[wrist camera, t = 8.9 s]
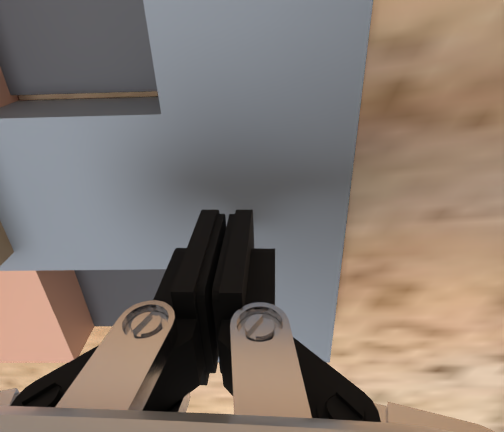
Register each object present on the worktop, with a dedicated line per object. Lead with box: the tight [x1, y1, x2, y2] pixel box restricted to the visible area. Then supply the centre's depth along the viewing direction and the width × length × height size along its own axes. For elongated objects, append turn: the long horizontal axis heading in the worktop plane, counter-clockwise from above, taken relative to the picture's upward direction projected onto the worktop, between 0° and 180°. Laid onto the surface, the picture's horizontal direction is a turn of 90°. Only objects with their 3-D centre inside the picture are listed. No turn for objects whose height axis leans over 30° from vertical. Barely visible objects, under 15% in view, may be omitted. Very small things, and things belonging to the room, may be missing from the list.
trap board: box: [0, 0, 373, 362], centre depth 15 cm, size 21×20×6 cm
